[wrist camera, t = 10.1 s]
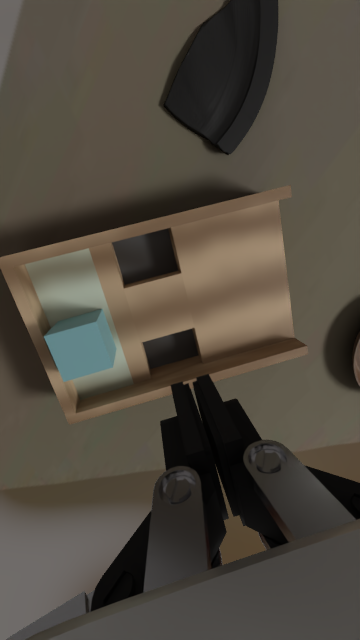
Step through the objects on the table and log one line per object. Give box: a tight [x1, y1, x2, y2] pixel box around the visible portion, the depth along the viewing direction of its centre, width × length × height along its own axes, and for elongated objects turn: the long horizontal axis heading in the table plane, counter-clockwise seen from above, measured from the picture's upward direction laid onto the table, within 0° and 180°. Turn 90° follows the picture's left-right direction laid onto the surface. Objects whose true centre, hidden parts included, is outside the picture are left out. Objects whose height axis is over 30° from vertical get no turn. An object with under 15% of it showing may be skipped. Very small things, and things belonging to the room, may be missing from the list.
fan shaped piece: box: [164, 0, 278, 155], centre depth 26 cm, size 8×14×2 cm, turn 148°
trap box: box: [0, 185, 308, 424], centre depth 29 cm, size 17×26×6 cm, turn 104°
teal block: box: [44, 309, 117, 382], centre depth 26 cm, size 4×4×4 cm
